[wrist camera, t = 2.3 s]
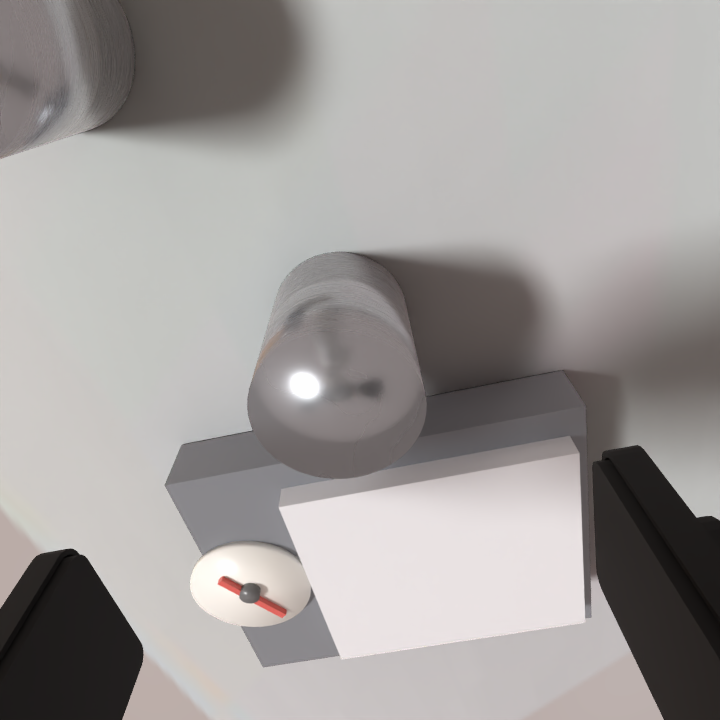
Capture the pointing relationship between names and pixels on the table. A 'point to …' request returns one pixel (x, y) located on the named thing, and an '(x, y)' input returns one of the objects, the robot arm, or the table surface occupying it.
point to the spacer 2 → (338, 370)
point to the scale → (400, 531)
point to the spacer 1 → (61, 69)
